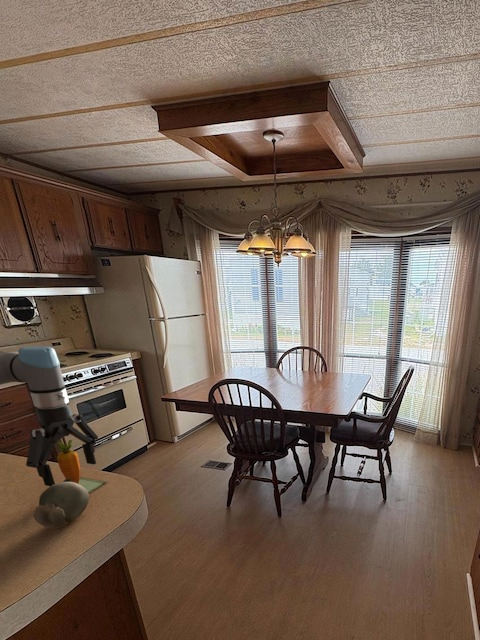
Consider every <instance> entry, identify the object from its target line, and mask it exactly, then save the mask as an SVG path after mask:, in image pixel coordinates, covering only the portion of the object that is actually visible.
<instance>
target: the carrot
mask: <svg viewBox="0 0 480 640" xmlns="http://www.w3.org/2000/svg"><path fill="white" fill-rule="evenodd" d="M72 442H73V439H69V440H68V441H67V446H66V445H65V444H64V443H63V442H61V441H57V442H56V445H57V447H58V448H59V451H60V452H59V453H58V455H57V456H56V461H57V464H58V467H59V469H60V472H61V473H62V475H63V476H64V478H65V480H66V479H67V478H70V479H71V482H74V483H77V484H78V483H79V480H80V478H81V463H80V462H81V461H80V458H79V454H78V452H77V451H75V450H73V449H71V448H72V447H73V444H72Z"/></svg>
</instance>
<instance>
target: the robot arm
mask: <svg viewBox="0 0 480 640" xmlns="http://www.w3.org/2000/svg"><path fill="white" fill-rule="evenodd" d="M11 383H24V384H27V386H28V389H29V392H30V396H31V399H32V403H33V405H34V407H35V412H36V416H37V419H38V421H39V422H40V424H41V428H37V429H34V428H31V429H30V430H29V435H30V441H29V446H28V451H27V458H26V462H25V466H26V467H28V468H35V469H36V471H37V475H38V477H40V478H42V480H43V483H44V484H43V485H44V486H46V487H50V486H52V485H54V484H56V482H55V479H54V476H53V473H52V470H51V466H50V464H47V463H48V460H49V457H50V456H51V453H52V451H53V448H54V446H55V445H56V444H57V443H58V440H61V439H63V438H65V437H68V436H70V435H71V436H73V437H75V438H76V439H78V440H79V441H80V442H83V443H82V444H81V447H82V450H83V454H84V458H85V461H86V464H88V465H96V464H97V461H96V456H95V452H96V451H95V445H96V443H97V441H96V440H98V439H99V436H98V434H96V433H95V431H94V430H93V429H92V428H91V427H90V425H89V424H88V423H87V422H86V421H85V418H84V415H82V414H76V413H73V411H72V407H71V404H69V402H70V400H69V395H68V392H67V388H66V385H65V381H64V376H63V372H62V369H61V362H60V360H59V357H58V355H57V352H56V350H55V348H53V347H52V346H47V345H30V346H24V347H20V348H19V349H18V350H17V352H7V351H1V350H0V386H1V385H5V384H11ZM74 424H75V425H76V426H77V427H78V428H79V429H80V430H81V431H80V430H79V429H78V428H75V427H74ZM82 432H83V433H82Z"/></svg>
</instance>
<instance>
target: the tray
mask: <svg viewBox="0 0 480 640" xmlns="http://www.w3.org/2000/svg"><path fill="white" fill-rule="evenodd" d="M78 484H79V485H81V486H82V487H84V488H85V489H86V490H87V492H88V494H90V493H92V492H93V491H95V490H96V489H98V488H100V487H102V486H103V485H105V484H106V481H102V480H97V479H92V478H86V477H80V480H79V483H78Z"/></svg>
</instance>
